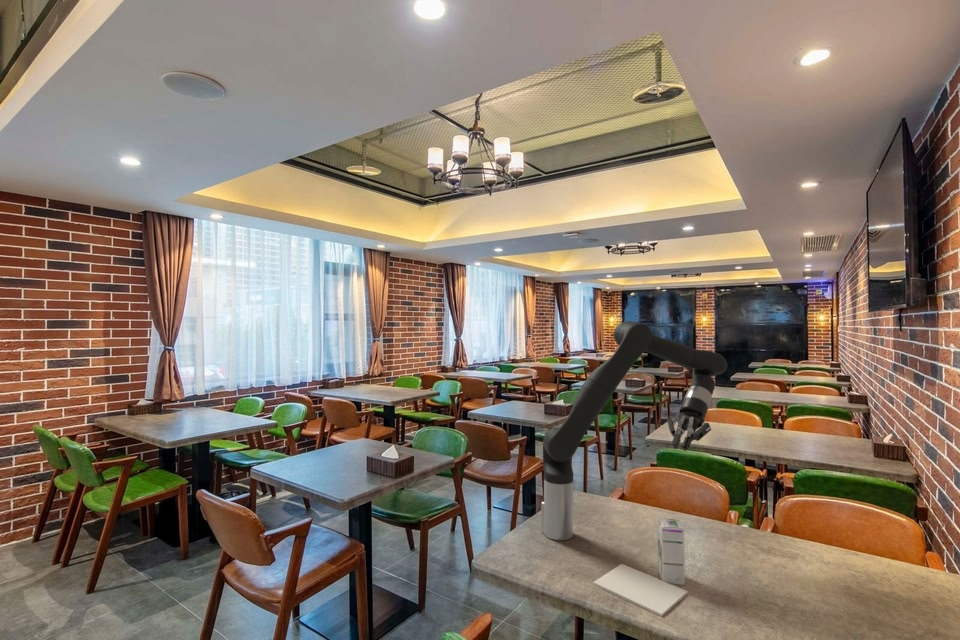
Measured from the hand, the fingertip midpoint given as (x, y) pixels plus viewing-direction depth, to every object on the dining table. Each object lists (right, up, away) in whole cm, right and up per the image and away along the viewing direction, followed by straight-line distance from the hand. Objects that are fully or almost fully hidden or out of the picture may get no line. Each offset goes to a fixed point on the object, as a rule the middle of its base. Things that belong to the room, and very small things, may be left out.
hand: (679, 447), depth 139 cm
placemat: (-20, -29, -24) cm, 42 cm away
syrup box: (-10, -29, -18) cm, 36 cm away
